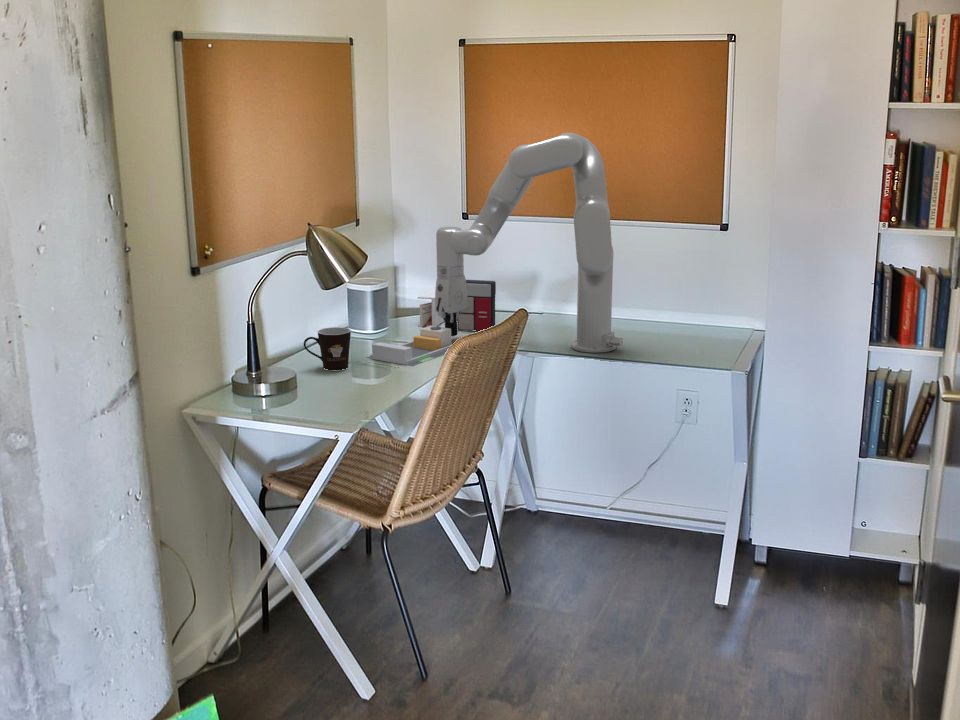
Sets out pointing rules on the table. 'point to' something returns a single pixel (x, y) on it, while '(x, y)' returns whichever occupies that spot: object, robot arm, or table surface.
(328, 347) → the coffee mug
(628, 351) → the table surface
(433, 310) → the cigarette display
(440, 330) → the block
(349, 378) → the table surface
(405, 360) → the board
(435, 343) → the orange rectangular block
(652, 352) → the table surface
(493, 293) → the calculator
